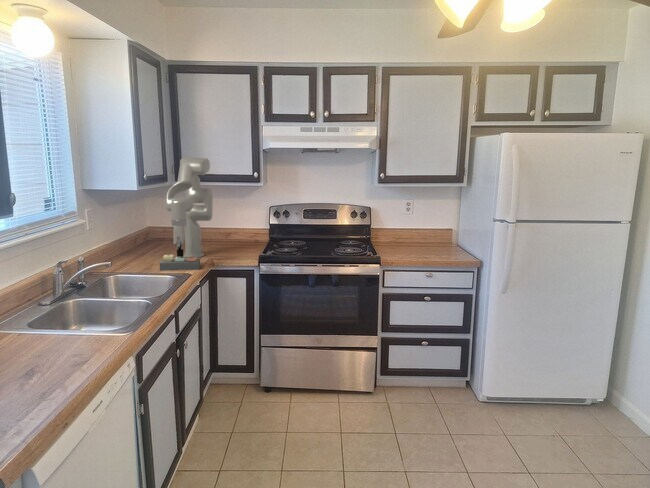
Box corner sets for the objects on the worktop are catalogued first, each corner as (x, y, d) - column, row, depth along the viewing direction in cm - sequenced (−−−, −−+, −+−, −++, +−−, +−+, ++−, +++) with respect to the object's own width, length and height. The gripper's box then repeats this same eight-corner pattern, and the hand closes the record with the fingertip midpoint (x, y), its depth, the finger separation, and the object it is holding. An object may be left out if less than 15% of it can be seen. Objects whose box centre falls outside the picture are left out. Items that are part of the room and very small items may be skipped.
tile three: (187, 267, 229) (186, 258, 228) (187, 265, 234) (187, 256, 233) (196, 267, 230) (196, 257, 229) (196, 265, 235) (196, 256, 234)
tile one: (163, 265, 226) (163, 256, 225) (164, 263, 231) (164, 254, 230) (172, 265, 227) (172, 256, 226) (174, 263, 232) (173, 254, 231)
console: (159, 270, 224) (159, 263, 223) (162, 266, 233) (162, 259, 232) (199, 269, 229) (198, 262, 228) (200, 265, 237) (200, 258, 237)
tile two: (175, 267, 228) (175, 258, 227) (176, 265, 232) (176, 256, 231) (184, 267, 229) (184, 258, 228) (185, 265, 233) (185, 256, 232)
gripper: (173, 221, 233) (174, 253, 236) (169, 225, 218) (171, 259, 222) (187, 221, 234) (188, 253, 238) (185, 225, 220) (186, 259, 224)
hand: (180, 256), depth 230 cm, fingers closed
